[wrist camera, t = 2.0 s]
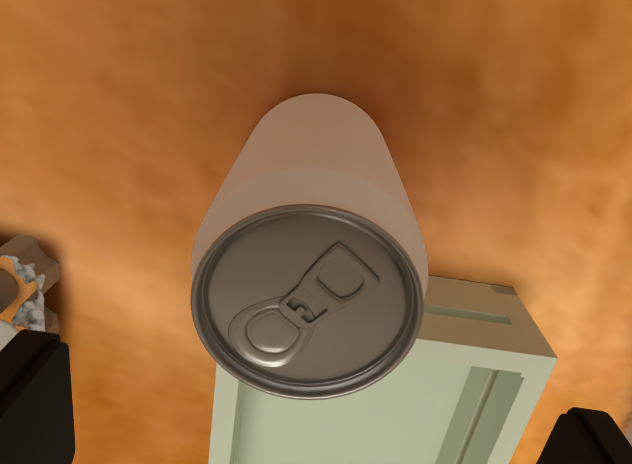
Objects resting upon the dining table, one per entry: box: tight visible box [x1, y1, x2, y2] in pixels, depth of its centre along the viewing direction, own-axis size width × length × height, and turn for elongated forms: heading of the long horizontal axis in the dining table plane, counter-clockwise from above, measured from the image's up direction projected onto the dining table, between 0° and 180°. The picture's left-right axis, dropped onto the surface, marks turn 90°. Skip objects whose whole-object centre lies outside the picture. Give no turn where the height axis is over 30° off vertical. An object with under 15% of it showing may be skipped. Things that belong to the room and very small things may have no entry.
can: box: [191, 93, 428, 400], centre depth 17 cm, size 6×6×12 cm
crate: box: [208, 275, 558, 464], centre depth 26 cm, size 18×14×6 cm
